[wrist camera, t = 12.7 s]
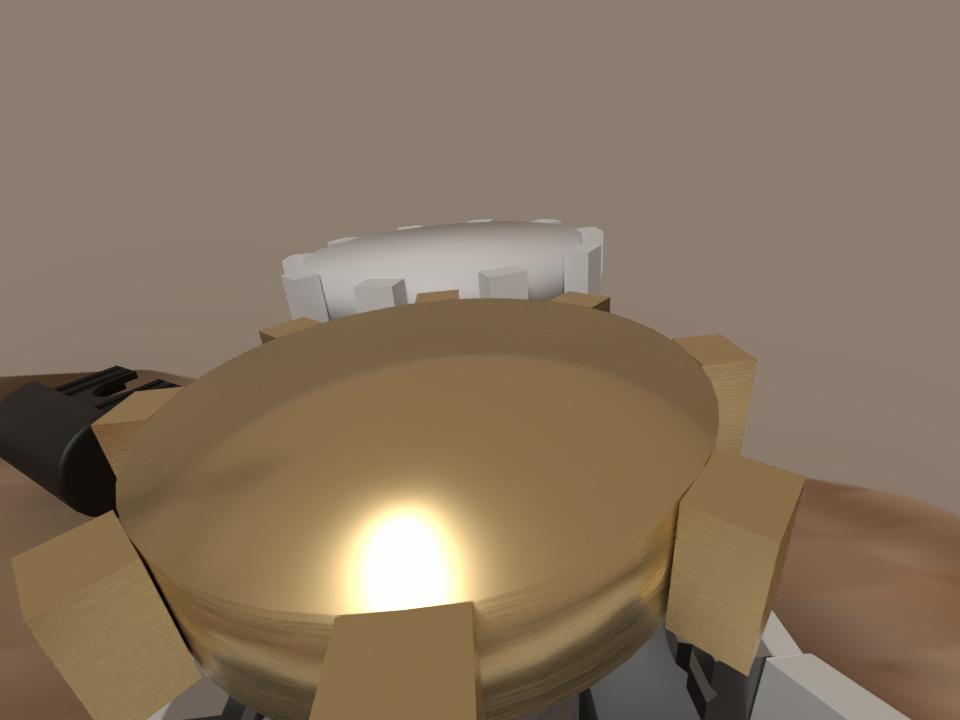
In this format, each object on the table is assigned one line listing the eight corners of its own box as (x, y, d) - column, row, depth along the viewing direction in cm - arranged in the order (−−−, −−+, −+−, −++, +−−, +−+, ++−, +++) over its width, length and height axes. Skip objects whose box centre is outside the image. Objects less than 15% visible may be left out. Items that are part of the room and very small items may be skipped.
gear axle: (287, 1229, 8) (-437, 821, 2) (366, 712, 16) (243, 309, 10) (751, 1170, 8) (1177, 645, 2) (609, 685, 16) (629, 272, 10)
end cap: (23, 497, 29) (-36, 403, 26) (143, 438, 34) (106, 355, 32) (95, 553, 24) (32, 444, 21) (222, 474, 30) (186, 379, 27)
